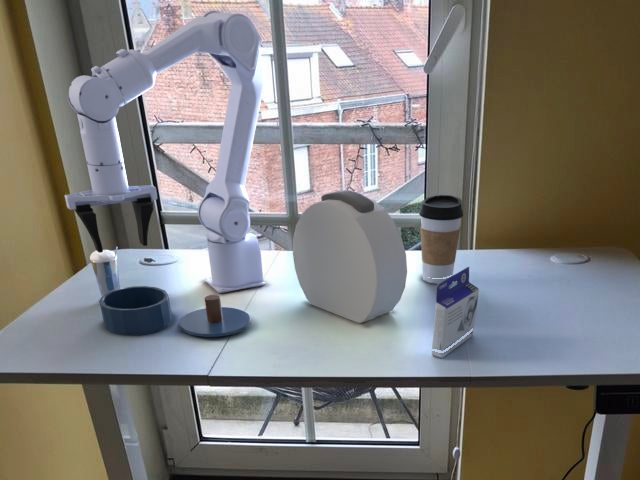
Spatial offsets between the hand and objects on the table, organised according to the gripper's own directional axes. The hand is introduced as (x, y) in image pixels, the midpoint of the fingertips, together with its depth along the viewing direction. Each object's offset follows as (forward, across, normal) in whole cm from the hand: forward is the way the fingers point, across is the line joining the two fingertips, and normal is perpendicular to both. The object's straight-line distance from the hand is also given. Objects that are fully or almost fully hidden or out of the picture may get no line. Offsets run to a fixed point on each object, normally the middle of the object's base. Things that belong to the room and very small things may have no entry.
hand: (121, 247), depth 127 cm
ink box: (+11, +40, -44) cm, 60 cm away
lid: (+10, +10, -16) cm, 21 cm away
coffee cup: (+10, +56, -16) cm, 60 cm away
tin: (+10, -1, -8) cm, 13 cm away
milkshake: (+11, -2, +4) cm, 12 cm away
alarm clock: (+10, +34, -20) cm, 41 cm away
